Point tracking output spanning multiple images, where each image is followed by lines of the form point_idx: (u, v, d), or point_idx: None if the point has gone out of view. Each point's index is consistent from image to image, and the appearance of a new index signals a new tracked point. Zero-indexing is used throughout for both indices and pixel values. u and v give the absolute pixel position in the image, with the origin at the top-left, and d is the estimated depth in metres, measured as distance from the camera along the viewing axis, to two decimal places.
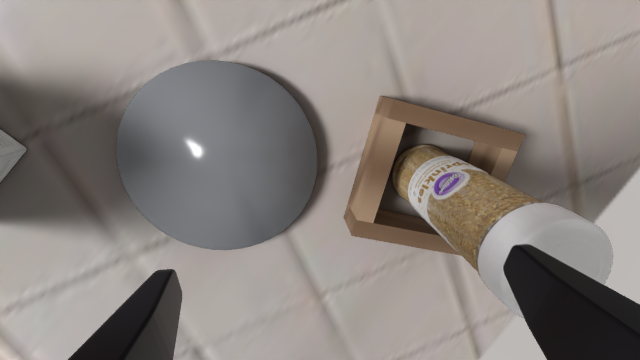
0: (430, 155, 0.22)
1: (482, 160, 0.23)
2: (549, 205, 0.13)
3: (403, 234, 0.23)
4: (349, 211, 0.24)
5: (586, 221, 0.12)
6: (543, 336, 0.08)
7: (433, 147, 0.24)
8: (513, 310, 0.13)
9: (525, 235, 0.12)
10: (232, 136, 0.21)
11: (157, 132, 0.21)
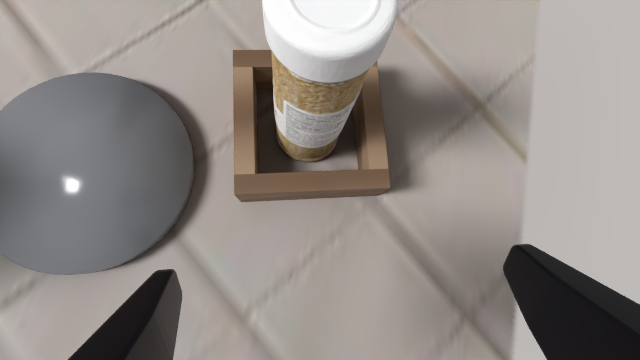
0: None
1: None
2: None
3: (296, 179, 0.20)
4: None
5: None
6: (543, 336, 0.08)
7: None
8: (300, 45, 0.10)
9: None
10: (92, 136, 0.21)
11: (13, 150, 0.20)
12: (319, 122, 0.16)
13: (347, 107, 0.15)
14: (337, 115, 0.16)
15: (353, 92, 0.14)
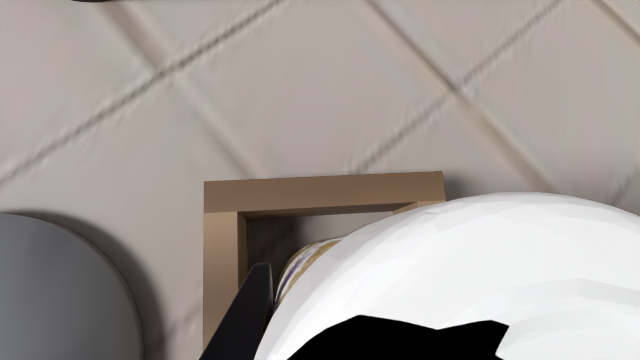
0: None
1: None
2: None
3: None
4: None
5: (524, 193, 0.03)
6: None
7: None
8: None
9: None
10: None
11: None
12: None
13: None
14: None
15: None
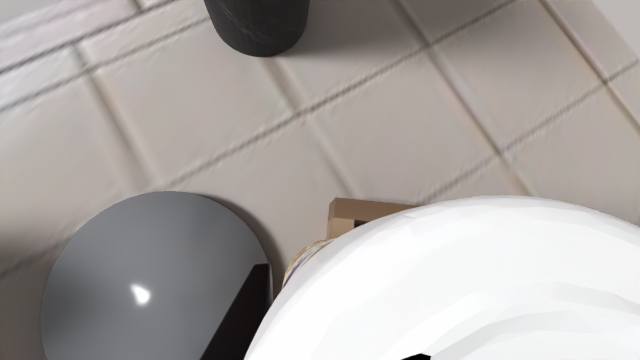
0: None
1: None
2: None
3: None
4: None
5: (503, 197, 0.03)
6: None
7: None
8: None
9: None
10: (174, 265, 0.20)
11: (91, 272, 0.19)
12: None
13: None
14: None
15: None
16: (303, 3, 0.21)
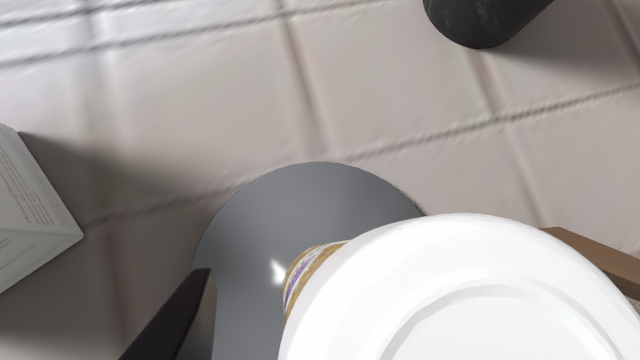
0: None
1: None
2: (388, 224, 0.05)
3: None
4: None
5: (461, 214, 0.04)
6: None
7: None
8: None
9: (299, 321, 0.04)
10: None
11: (254, 235, 0.16)
12: None
13: None
14: None
15: None
16: None
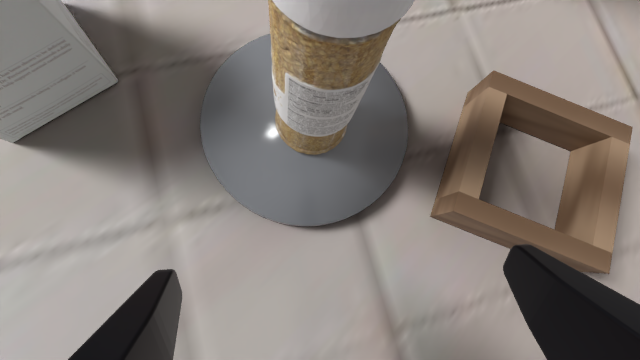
0: None
1: (588, 161, 0.21)
2: None
3: (516, 222, 0.18)
4: (440, 201, 0.20)
5: None
6: (543, 336, 0.08)
7: None
8: None
9: None
10: None
11: (253, 80, 0.21)
12: (329, 100, 0.13)
13: (364, 81, 0.12)
14: (352, 91, 0.13)
15: (374, 59, 0.11)
16: None
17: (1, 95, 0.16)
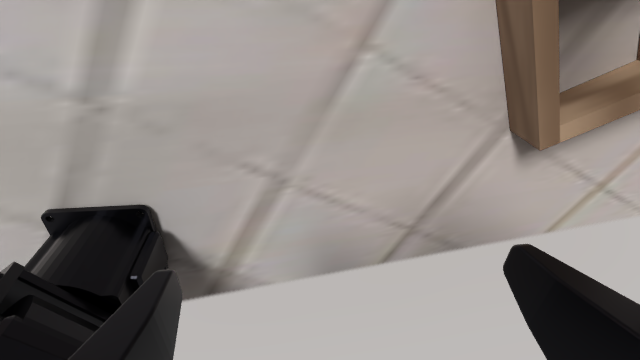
0: None
1: (639, 76, 0.19)
2: None
3: (550, 54, 0.17)
4: None
5: None
6: (543, 336, 0.08)
7: None
8: None
9: None
10: None
11: None
12: None
13: None
14: None
15: None
16: None
17: None
